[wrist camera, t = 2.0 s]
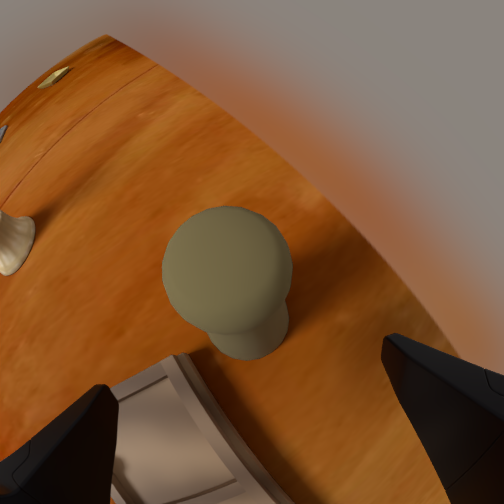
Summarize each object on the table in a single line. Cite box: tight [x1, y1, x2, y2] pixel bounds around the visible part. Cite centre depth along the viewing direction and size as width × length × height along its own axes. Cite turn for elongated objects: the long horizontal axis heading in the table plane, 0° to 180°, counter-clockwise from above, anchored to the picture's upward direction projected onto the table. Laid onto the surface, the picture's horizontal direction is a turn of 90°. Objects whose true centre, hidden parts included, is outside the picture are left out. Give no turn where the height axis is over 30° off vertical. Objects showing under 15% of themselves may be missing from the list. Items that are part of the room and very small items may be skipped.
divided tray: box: [110, 353, 295, 504], centre depth 12 cm, size 20×12×3 cm, turn 33°
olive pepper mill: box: [162, 206, 293, 361], centre depth 14 cm, size 6×6×11 cm
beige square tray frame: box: [38, 67, 69, 89], centre depth 51 cm, size 9×9×2 cm
